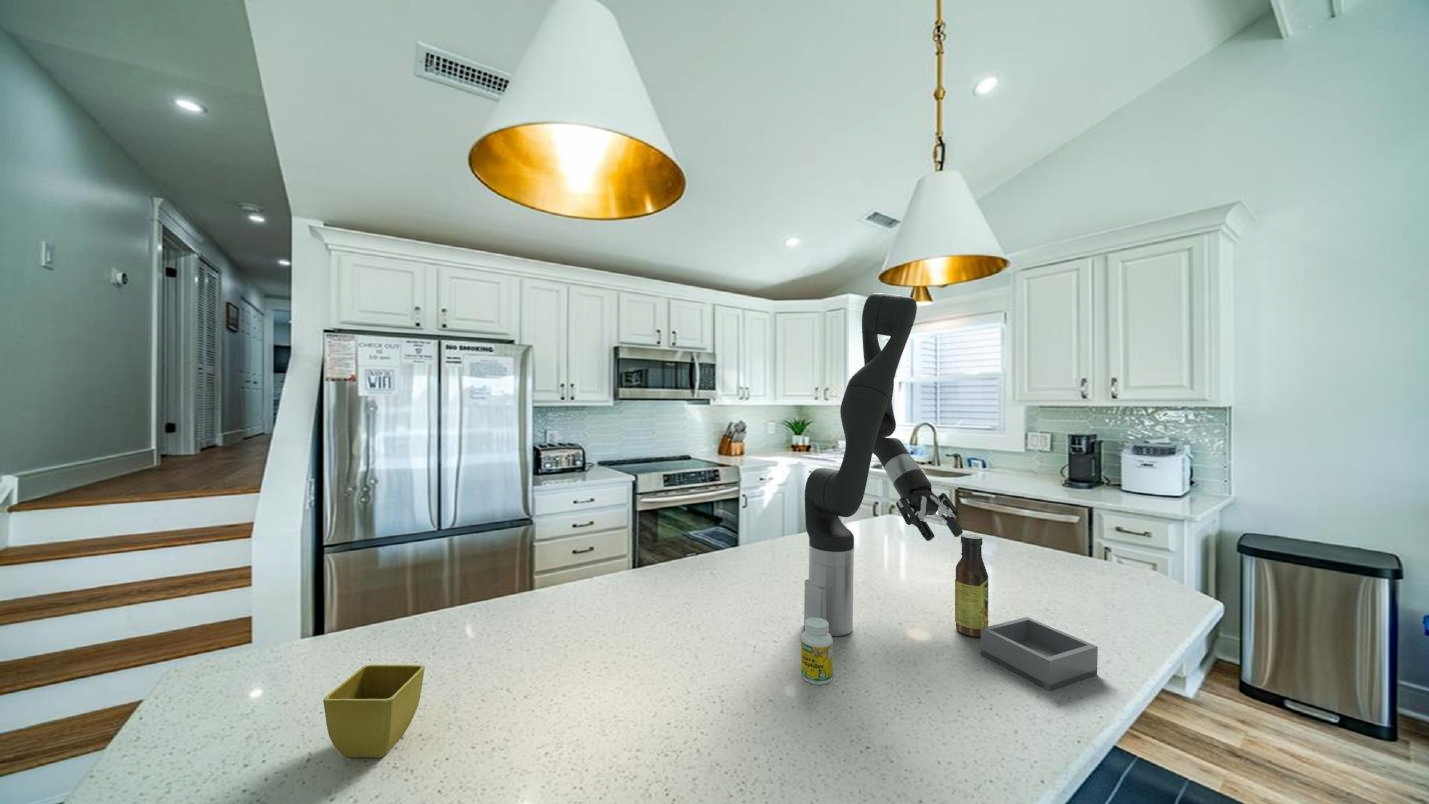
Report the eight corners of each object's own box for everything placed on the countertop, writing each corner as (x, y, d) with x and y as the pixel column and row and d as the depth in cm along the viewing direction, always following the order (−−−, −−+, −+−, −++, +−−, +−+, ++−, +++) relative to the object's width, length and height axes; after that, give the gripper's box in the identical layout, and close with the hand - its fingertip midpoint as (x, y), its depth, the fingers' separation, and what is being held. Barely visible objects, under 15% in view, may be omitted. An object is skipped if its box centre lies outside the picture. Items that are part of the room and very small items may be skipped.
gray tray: (1049, 691, 85) (1049, 661, 85) (980, 654, 97) (981, 628, 97) (1097, 674, 90) (1097, 646, 90) (1026, 641, 102) (1026, 617, 102)
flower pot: (426, 725, 74) (426, 663, 74) (390, 768, 66) (390, 699, 66) (364, 725, 74) (365, 664, 74) (320, 769, 65) (320, 700, 65)
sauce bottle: (992, 640, 102) (994, 542, 102) (959, 637, 104) (960, 539, 103) (982, 626, 109) (983, 533, 109) (950, 623, 110) (952, 531, 110)
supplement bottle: (836, 674, 89) (837, 619, 89) (827, 689, 85) (827, 632, 85) (806, 666, 92) (807, 613, 92) (796, 680, 87) (797, 624, 87)
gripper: (892, 469, 117) (931, 531, 107) (938, 466, 123) (979, 524, 113) (876, 488, 122) (911, 549, 112) (920, 484, 128) (958, 542, 118)
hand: (945, 537), depth 112 cm, fingers open, 8 cm apart
